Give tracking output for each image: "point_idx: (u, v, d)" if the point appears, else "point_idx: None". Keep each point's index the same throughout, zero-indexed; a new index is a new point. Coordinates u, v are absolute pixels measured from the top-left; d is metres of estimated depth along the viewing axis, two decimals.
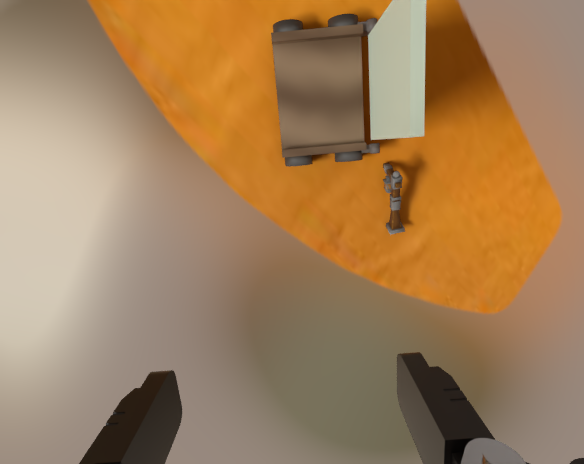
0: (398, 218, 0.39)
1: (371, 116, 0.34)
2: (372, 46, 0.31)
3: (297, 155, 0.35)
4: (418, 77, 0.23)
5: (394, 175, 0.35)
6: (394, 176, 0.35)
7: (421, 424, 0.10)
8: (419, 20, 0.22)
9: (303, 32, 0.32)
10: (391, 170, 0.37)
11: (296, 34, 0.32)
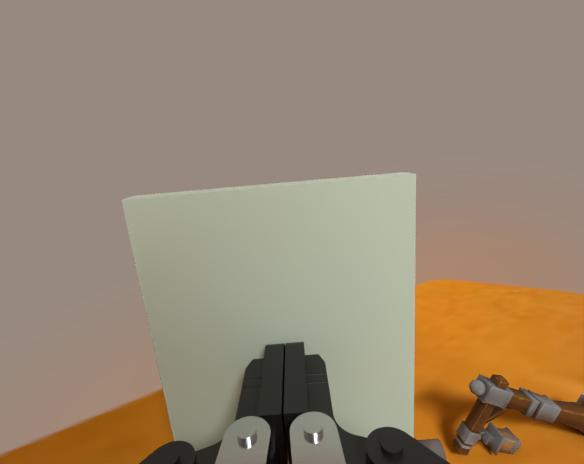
0: (568, 404, 0.17)
1: None
2: (208, 441, 0.14)
3: None
4: (299, 182, 0.12)
5: (481, 387, 0.16)
6: (484, 388, 0.16)
7: None
8: (203, 190, 0.12)
9: None
10: (469, 420, 0.17)
11: None
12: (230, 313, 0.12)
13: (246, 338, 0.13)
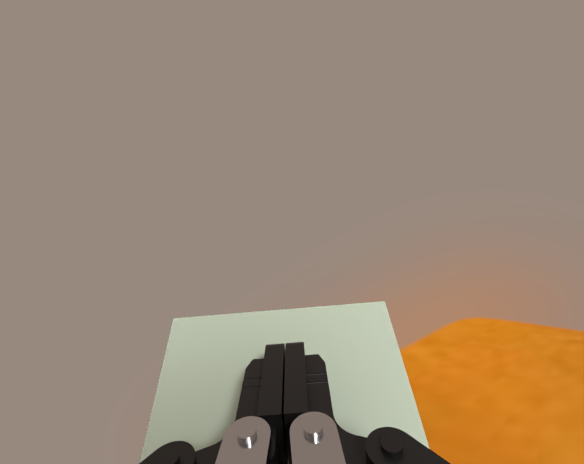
0: None
1: None
2: None
3: None
4: None
5: None
6: None
7: None
8: None
9: None
10: None
11: None
12: (231, 418, 0.12)
13: None
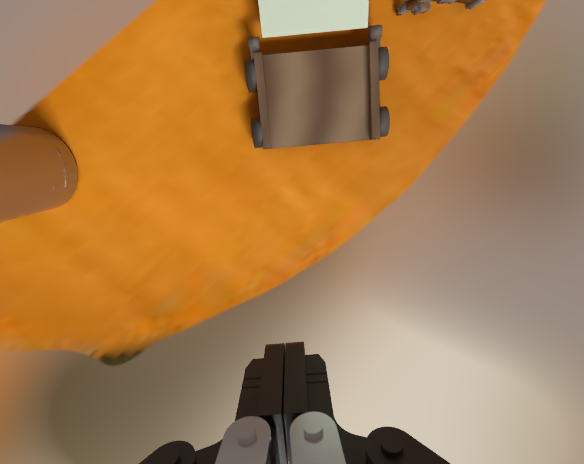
0: None
1: (343, 23, 0.31)
2: (275, 16, 0.30)
3: (378, 122, 0.33)
4: None
5: None
6: None
7: None
8: None
9: (262, 116, 0.33)
10: (408, 3, 0.32)
11: (264, 124, 0.33)
12: None
13: None
